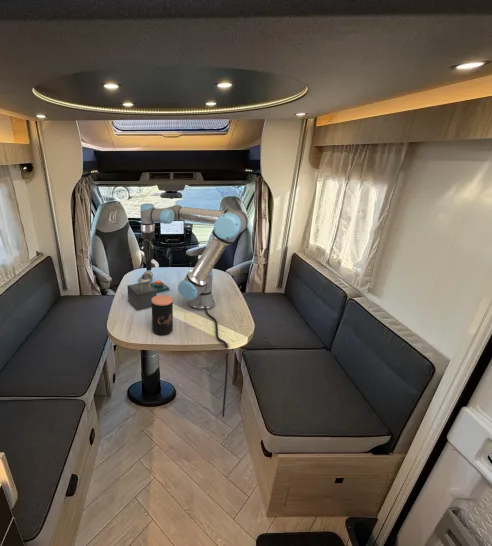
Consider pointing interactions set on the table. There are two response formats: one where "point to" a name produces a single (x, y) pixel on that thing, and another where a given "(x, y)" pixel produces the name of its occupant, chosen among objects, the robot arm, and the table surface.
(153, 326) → the coffee jar
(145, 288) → the box lid
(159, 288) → the control block
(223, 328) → the table surface
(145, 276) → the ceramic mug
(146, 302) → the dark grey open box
